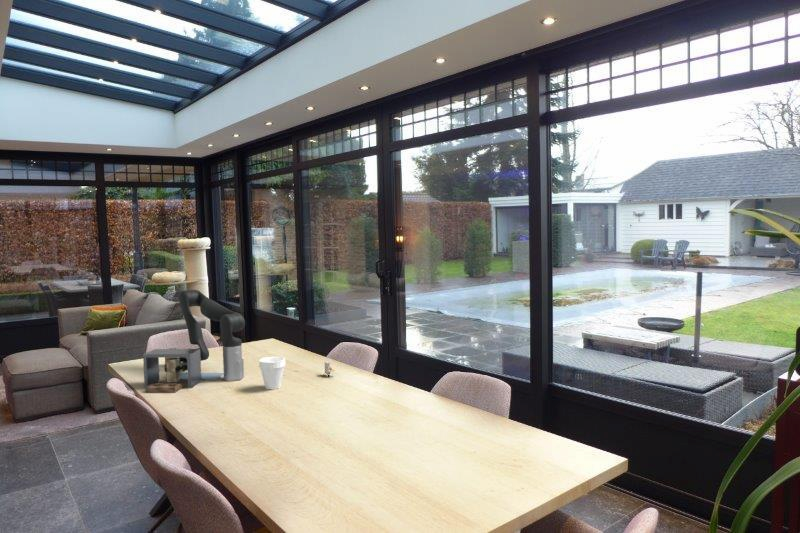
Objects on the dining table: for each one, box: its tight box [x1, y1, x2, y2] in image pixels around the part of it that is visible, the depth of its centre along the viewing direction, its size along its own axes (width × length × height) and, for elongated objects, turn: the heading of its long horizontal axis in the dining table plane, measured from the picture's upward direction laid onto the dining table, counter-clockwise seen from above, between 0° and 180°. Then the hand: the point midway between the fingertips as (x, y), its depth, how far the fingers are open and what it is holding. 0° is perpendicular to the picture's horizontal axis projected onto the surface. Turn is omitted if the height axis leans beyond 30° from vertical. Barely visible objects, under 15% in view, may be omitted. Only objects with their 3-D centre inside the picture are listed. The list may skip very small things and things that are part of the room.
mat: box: [165, 372, 224, 381], centre depth 291 cm, size 26×12×1 cm, turn 87°
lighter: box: [164, 347, 179, 365], centre depth 316 cm, size 8×3×10 cm, turn 143°
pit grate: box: [145, 382, 183, 394], centre depth 266 cm, size 14×7×2 cm, turn 87°
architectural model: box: [324, 361, 336, 376], centre depth 289 cm, size 3×7×7 cm, turn 27°
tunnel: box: [142, 348, 202, 389], centre depth 276 cm, size 23×12×16 cm, turn 87°
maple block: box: [166, 357, 181, 383], centre depth 276 cm, size 4×4×11 cm
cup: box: [258, 356, 286, 390], centre depth 268 cm, size 12×12×14 cm
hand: (170, 370), depth 274 cm, fingers closed on maple block, 4 cm apart
